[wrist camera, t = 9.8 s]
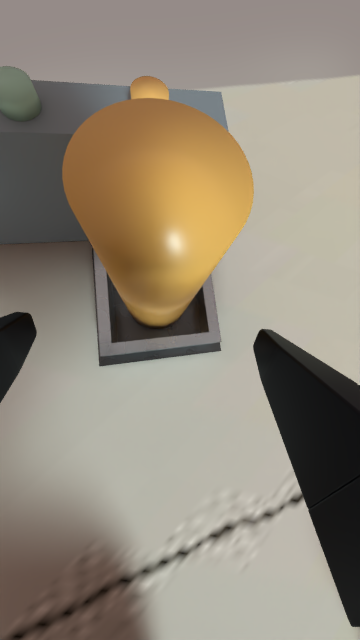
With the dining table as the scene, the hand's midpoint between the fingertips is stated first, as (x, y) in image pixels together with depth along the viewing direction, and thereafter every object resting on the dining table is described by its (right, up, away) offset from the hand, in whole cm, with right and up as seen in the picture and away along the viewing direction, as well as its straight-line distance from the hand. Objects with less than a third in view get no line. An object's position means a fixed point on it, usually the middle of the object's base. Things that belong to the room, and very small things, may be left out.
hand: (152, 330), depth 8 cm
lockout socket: (-1, +2, +10) cm, 10 cm away
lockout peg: (-1, +2, +9) cm, 10 cm away
